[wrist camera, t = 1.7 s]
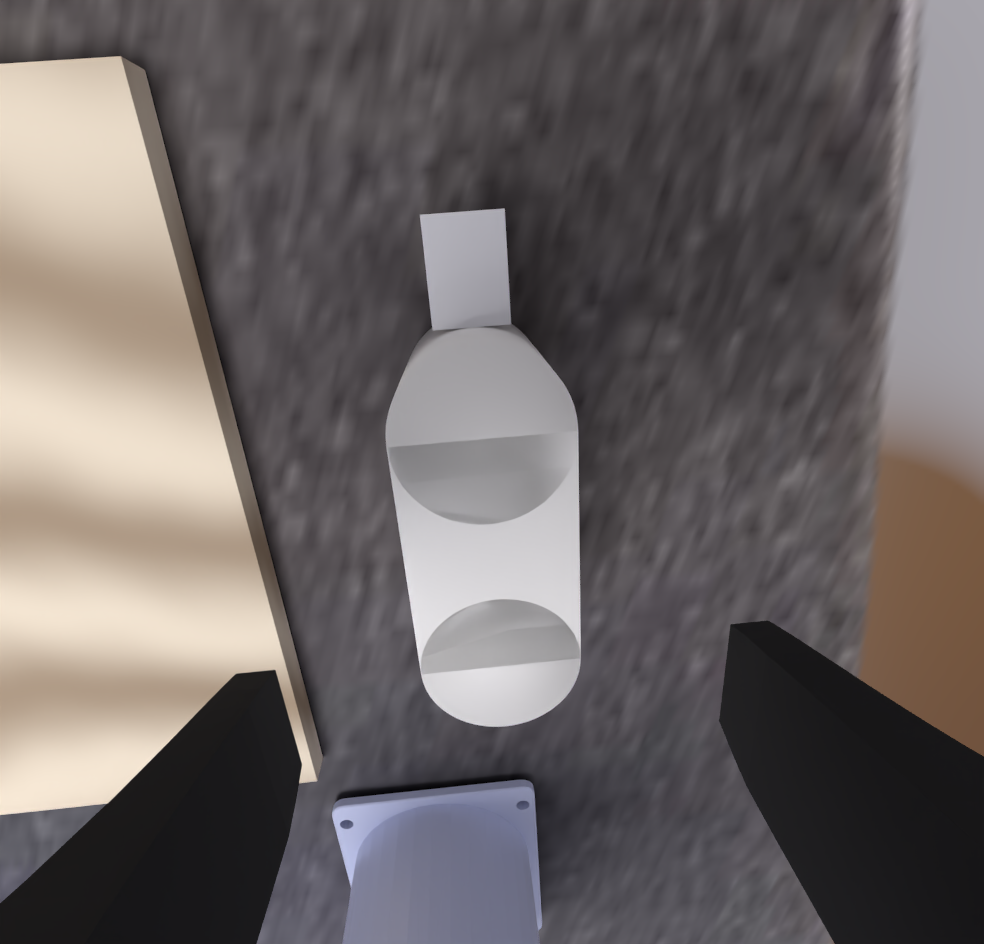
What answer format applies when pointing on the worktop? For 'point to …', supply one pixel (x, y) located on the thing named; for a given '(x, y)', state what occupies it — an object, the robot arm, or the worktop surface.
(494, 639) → the plug
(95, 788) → the pad
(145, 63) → the worktop surface
